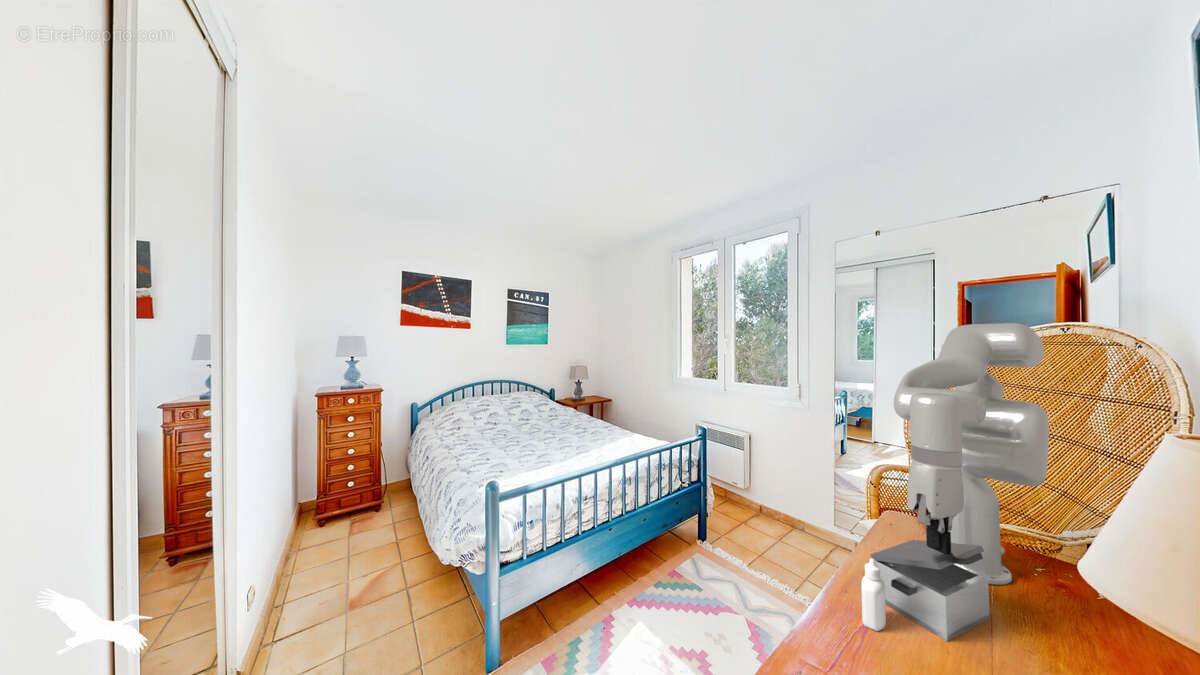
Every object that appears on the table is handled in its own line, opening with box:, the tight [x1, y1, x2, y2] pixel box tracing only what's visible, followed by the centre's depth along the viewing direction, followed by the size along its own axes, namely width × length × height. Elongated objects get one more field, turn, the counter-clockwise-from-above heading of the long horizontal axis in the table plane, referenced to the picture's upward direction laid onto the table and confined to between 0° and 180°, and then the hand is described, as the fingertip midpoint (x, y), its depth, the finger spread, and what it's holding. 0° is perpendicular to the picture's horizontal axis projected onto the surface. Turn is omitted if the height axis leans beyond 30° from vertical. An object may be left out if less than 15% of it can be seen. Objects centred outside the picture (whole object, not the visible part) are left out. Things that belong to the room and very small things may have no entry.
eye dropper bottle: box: [860, 557, 887, 632], centre depth 71 cm, size 4×6×12 cm
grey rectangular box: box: [875, 560, 991, 642], centre depth 74 cm, size 19×12×8 cm, turn 111°
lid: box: [870, 539, 984, 570], centre depth 74 cm, size 15×15×1 cm
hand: (938, 549), depth 73 cm, fingers closed
